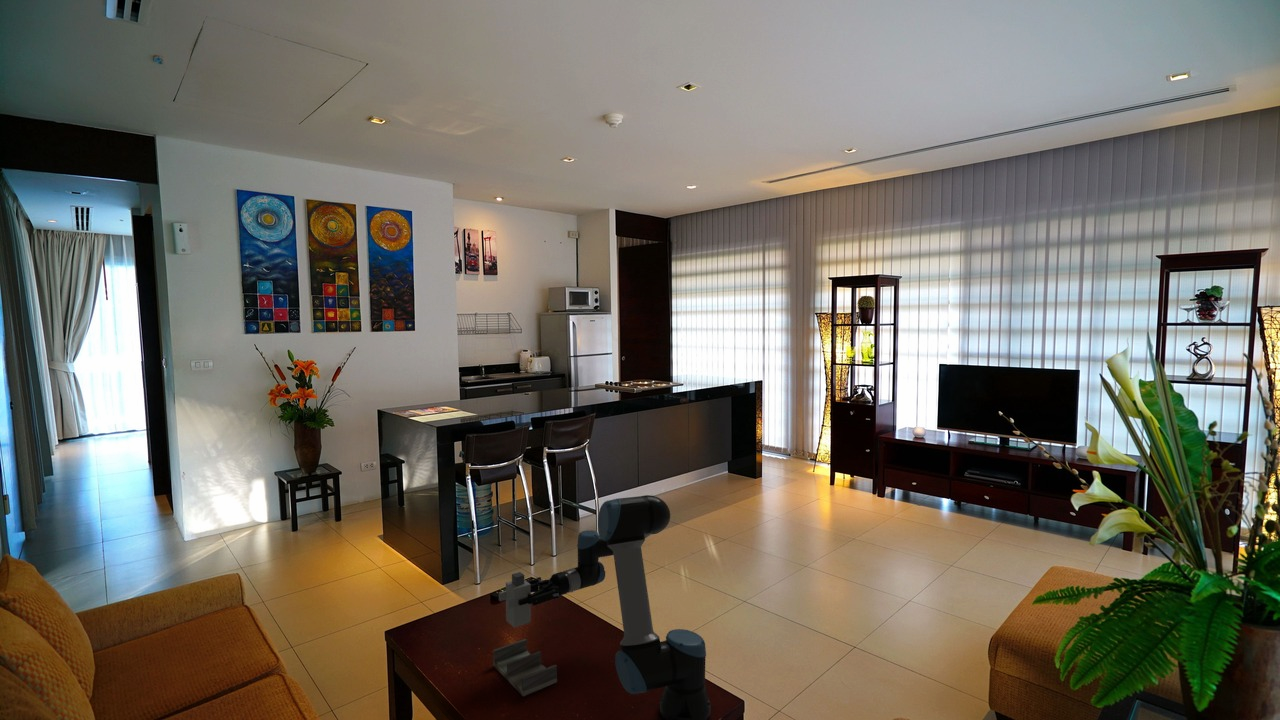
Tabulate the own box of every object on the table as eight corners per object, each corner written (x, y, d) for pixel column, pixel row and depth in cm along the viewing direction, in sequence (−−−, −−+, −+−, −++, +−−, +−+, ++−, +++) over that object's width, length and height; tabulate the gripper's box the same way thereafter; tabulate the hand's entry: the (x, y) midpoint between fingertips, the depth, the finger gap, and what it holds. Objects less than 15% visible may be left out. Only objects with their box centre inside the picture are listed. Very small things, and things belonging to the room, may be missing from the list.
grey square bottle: (530, 622, 202) (530, 575, 201) (514, 627, 198) (513, 580, 197) (522, 615, 207) (522, 569, 206) (506, 620, 203) (505, 573, 202)
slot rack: (556, 682, 195) (556, 665, 194) (523, 696, 187) (523, 679, 187) (525, 653, 211) (525, 638, 211) (493, 665, 204) (493, 650, 203)
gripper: (579, 602, 206) (517, 623, 191) (551, 583, 221) (491, 601, 206) (579, 581, 205) (517, 600, 191) (551, 563, 220) (491, 579, 206)
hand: (503, 600), depth 199 cm, fingers closed on grey square bottle, 6 cm apart
